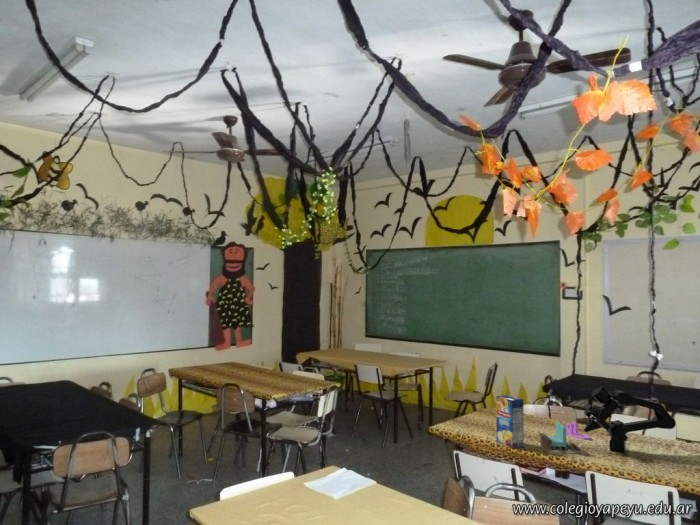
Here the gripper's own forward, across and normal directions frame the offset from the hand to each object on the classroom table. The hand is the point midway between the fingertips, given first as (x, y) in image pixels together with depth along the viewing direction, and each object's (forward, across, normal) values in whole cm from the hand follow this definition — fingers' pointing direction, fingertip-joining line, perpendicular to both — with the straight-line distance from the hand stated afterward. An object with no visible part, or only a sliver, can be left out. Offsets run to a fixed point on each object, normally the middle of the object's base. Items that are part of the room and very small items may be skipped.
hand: (584, 431), depth 259 cm
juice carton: (+32, -5, -19) cm, 38 cm away
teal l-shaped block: (+15, 0, -6) cm, 16 cm away
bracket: (+2, -24, +11) cm, 27 cm away
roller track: (+15, 0, -2) cm, 15 cm away
